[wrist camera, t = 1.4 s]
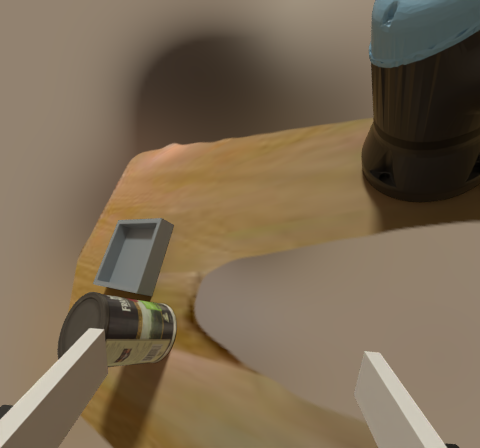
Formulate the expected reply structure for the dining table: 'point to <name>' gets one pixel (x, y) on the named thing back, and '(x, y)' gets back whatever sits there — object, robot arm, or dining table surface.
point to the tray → (135, 255)
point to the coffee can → (121, 328)
